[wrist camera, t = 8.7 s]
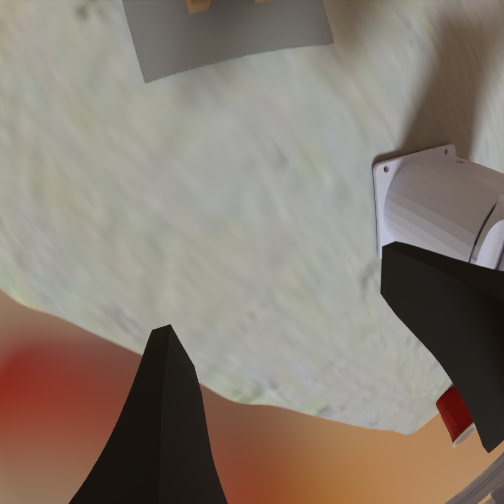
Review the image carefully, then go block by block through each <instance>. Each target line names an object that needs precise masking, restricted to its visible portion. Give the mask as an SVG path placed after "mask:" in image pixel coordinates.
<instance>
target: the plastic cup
mask: <svg viewBox="0 0 504 504" xmlns="http://www.w3.org/2000/svg"><path fill="white" fill-rule="evenodd" d="M436 406H437V408H438V410H439V412H440V414H441V417H442V419H443V421H444V423H445V425H446V427H447V429H448V431H449V433H450V436H451V438H452V442H453V447H455V446H457V445H459V444H460V443H462V442H463V441H464V440H466V439H467V438H468V437H469V436H471V435H472V434H473V433H474V432H475V431H476V430H477V429H476V426H475V424H474V422H473V419H472V417H471V415H470V413H469V411H468V409H467V407H466V405H465V403H464V401H463V399H462V397H461V396H460V394H459V392H458V391H457V389H456V388H455V387H452V388H450V389H449V390H448V391H447V392H445V393H444V394H443V395H442V396H441V397H440V398H439V400H438V401H437V402H436Z"/></svg>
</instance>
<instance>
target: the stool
mask: <svg viewBox="0 0 504 504" xmlns="http://www.w3.org/2000/svg"><path fill="white" fill-rule="evenodd" d="M271 1H272V0H253V2H254V3H263V2H271ZM211 2H212V0H185V3H186V7H187V10H188V14H194V13H198V12H203V11H207V10H208V8H209V6H210V4H211Z"/></svg>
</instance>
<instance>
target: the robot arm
mask: <svg viewBox="0 0 504 504" xmlns="http://www.w3.org/2000/svg"><path fill="white" fill-rule="evenodd" d="M444 151H445V152H444ZM385 166H386V169H385V171H384V167H385ZM373 177H374V188H375V202H376V218H377V244H378V257H379V258H380V259H381V260H382V267H381V291H380V293H381V295H382V296H383V298H384V299H385V300H386V302H387V303H388V305H389V306H390V307H391V309H392V310H393V312H394V313H395V314H396V315H397V316H398V318H399V319H400V320H401V321H402V322H403V323H404V324H405V325H406V326H407V327H408V328H409V329H410V330H411V332H412V333H413V334H414V335H415V336H416V337H417V338H418V339H419V340H420V341H421V342H422V343H423V344H424V346H425V347H426V348H427V349H428V350H429V351H430V352H431V353H432V354H433V356H434V357H435V358H436V359H437V360H438V362H439V363H440V364H441V366H442V367H443V369H444V370H445V372H446V373H447V375H448V376H449V378H450V379H451V381H452V382H453V384H454V386H455V387H456V389H457V391H458V392H459V394H460V396H461V397H462V399H463V401H464V403H465V405H466V407H467V409H468V411H469V413H470V415H471V417H472V419H473V422H474V424H475V426H476V429H477V431H478V434H479V436H480V439H481V442H482V445H483V447H484V448H485V450H486V451H487V452H488V453H490V452H491V451H492V450H493V449H494V448H496V447H497V446H498V445H499V444H500V443H501V442H502V441H503V440H504V174H503V173H500V172H498V171H495V170H493V169H490V168H488V167H485V166H482V165H480V164H477V163H474V162H471V161H469V160H466V159H463V158H460V157H457V156H456V149H455V146H454V145H452V144H447V145H443V146H439V147H435V148H431V149H427V150H423V151H419V152H416V153H412V154H408V155H404V156H401V157H397V158H393V159H389V160H386V161H382V162H379V163H376V164H375V165H374V167H373ZM493 489H494V490H493ZM492 490H493V491H492ZM491 491H492V492H491ZM490 492H491V496H492V497H491V498H490V499H489V500H488V501H486V502H485V503H484V504H504V453H503V454H502V455H501V456H500V457H499V458H498V459H497V460H496V461H495V462H493V464H491V466H489V467H488V468H487V469H486V470H485V471H484V472H483V473H482V474H481V475H479V476H478V477H477V478H476V479H475V480H474V481H473V482H471V483H470V484H469V485H468V486H467V487H465V488H464V489H463V490H462V491H461V492H459V493H458V494H457V495H455V496H454V497H453V498H452V499H450V500H449V501H448V502H446V503H445V504H478V503H479V502H480V501H481V500H482V499H483V498H485V496H487V495H488V494H489V493H490ZM69 504H228V503H227V501H226V498H225V495H224V492H223V489H222V487H221V484H220V481H219V478H218V475H217V471H216V468H215V465H214V461H213V457H212V453H211V447H210V442H209V436H208V430H207V424H206V418H205V412H204V406H203V399H202V393H201V390H200V386H199V382H198V378H197V375H196V371H195V367H194V365H193V363H192V361H191V360H190V358H189V356H188V355H187V353H186V351H185V349H184V348H183V346H182V344H181V342H180V341H179V339H178V337H177V335H176V333H175V332H174V330H173V328H172V326H171V324H170V325H166V326H163V327H160V328H157V329H154V330H152V332H151V334H150V336H149V339H148V342H147V345H146V348H145V351H144V354H143V356H142V359H141V362H140V365H139V368H138V371H137V373H136V376H135V379H134V381H133V385H132V387H131V390H130V392H129V395H128V397H127V400H126V402H125V404H124V407H123V409H122V412H121V414H120V417H119V419H118V421H117V423H116V426H115V427H114V430H113V432H112V434H111V436H110V438H109V440H108V442H107V444H106V446H105V448H104V449H103V451H102V453H101V455H100V457H99V458H98V460H97V462H96V463H95V465H94V467H93V468H92V470H91V472H90V473H89V475H88V477H87V478H86V480H85V481H84V483H83V484H82V486H81V487H80V489H79V490H78V492H77V493H76V494H75V496H74V497H73V498H72V500H71V501H70V502H69Z"/></svg>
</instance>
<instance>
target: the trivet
mask: <svg viewBox="0 0 504 504" xmlns="http://www.w3.org/2000/svg"><path fill="white" fill-rule="evenodd" d="M122 2H123V6H124V10H125V13H126V17H127V21H128V25H129V28H130V32H131V36H132V39H133V43H134V47H135V50H136V54H137V57H138V61H139V64H140V67H141V71H142V74H143V78H144V81H145V83H146V84H147V83H149V82H152V81H155V80H158V79H161V78H164V77H167V76H170V75H173V74H176V73H179V72H182V71H186V70H189V69H193V68H196V67H200V66H203V65H207V64H211V63H215V62H219V61H223V60H228V59H232V58H237V57H241V56H246V55H251V54H257V53H262V52H268V51H274V50H281V49H288V48H296V47H305V46H315V45H328V44H332V43H334V41H333V38H332V34H331V30H330V27H329V23H328V20H327V16H326V13H325V10H324V7H323V3H322V0H272V1H271V2H263V3H254V2H253V0H212V2H211V4H210V6H209V8H208V10H207V11H203V12H198V13H194V14H188V10H187V7H186V3H185V0H122Z"/></svg>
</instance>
